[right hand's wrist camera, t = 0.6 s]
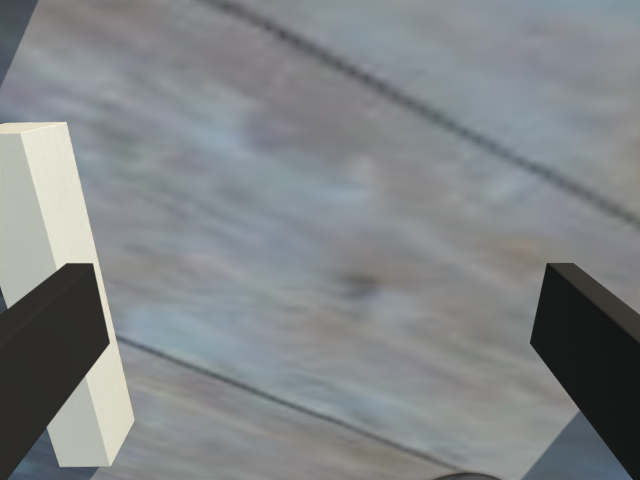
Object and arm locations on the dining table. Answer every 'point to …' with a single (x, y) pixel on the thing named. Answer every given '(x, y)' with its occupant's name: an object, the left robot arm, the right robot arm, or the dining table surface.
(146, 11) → the dining table surface
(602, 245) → the dining table surface
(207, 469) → the dining table surface
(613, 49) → the dining table surface
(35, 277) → the plank
